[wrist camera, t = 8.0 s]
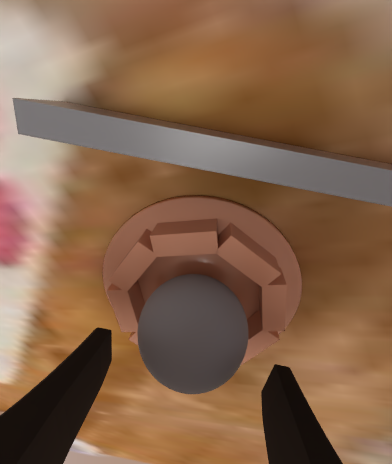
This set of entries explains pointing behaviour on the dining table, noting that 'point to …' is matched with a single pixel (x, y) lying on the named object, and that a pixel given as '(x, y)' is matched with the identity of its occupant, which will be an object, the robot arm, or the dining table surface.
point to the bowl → (205, 262)
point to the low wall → (206, 149)
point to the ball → (192, 333)
